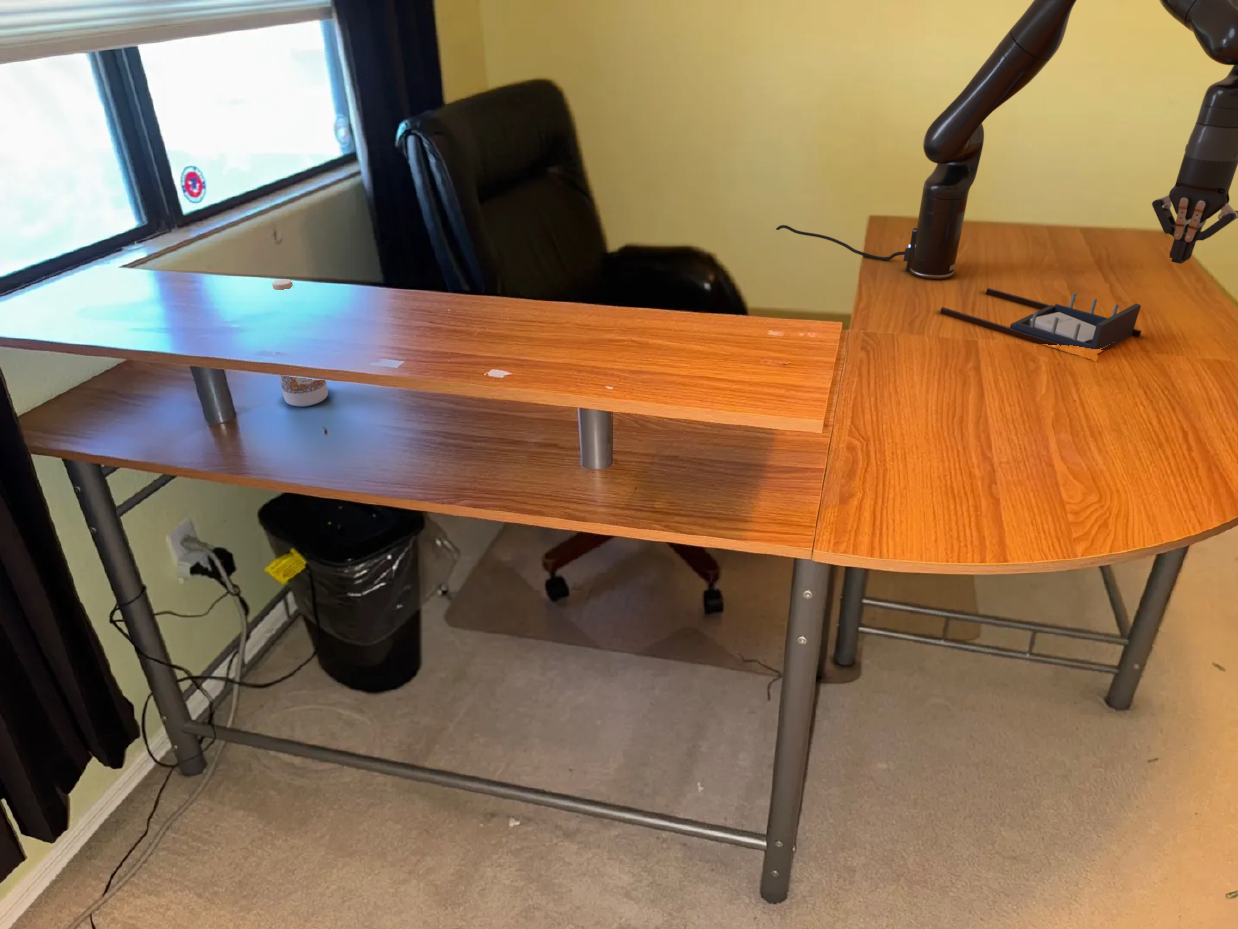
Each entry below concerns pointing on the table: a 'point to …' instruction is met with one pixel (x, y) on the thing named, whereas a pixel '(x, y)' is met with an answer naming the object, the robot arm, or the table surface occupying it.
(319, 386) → the patterned jar
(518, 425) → the table surface
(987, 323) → the rack rails
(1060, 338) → the rack
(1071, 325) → the hard drive
